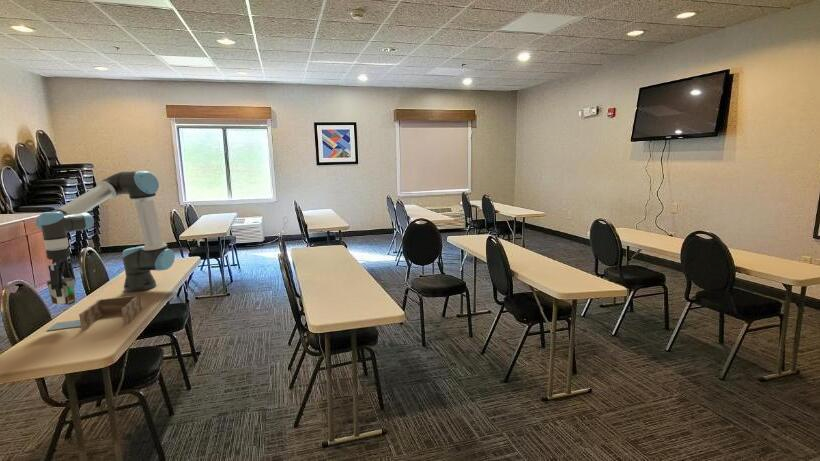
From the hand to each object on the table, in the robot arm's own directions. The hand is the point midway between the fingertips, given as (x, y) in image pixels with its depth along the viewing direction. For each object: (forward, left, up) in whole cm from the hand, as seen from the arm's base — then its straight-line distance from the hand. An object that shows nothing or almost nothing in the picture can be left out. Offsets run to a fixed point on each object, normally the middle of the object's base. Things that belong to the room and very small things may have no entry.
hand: (66, 300), depth 176 cm
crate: (-1, +16, -11) cm, 19 cm away
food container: (-1, 0, -1) cm, 1 cm away
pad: (0, 0, -11) cm, 11 cm away
